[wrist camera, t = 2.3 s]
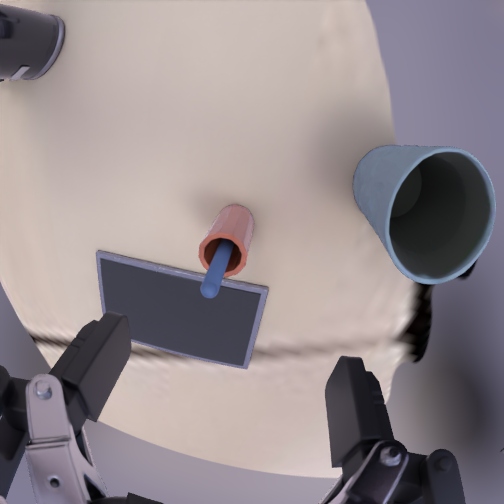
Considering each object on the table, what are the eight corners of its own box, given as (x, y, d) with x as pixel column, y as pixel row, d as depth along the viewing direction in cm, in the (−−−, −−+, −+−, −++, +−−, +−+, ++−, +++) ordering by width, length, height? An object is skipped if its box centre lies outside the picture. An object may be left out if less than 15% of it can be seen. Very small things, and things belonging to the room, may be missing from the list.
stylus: (228, 228, 30) (197, 299, 18) (229, 217, 30) (199, 284, 18) (239, 230, 30) (215, 303, 18) (241, 220, 30) (218, 288, 18)
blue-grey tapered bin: (345, 230, 30) (379, 291, 19) (342, 134, 26) (387, 143, 15) (426, 226, 29) (483, 277, 18) (430, 137, 24) (502, 154, 14)
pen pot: (215, 235, 31) (196, 271, 24) (220, 201, 30) (201, 228, 22) (250, 242, 31) (242, 280, 24) (257, 208, 30) (250, 238, 22)
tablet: (108, 330, 39) (105, 333, 39) (98, 249, 33) (95, 252, 33) (247, 366, 40) (247, 370, 39) (268, 287, 33) (268, 291, 33)
